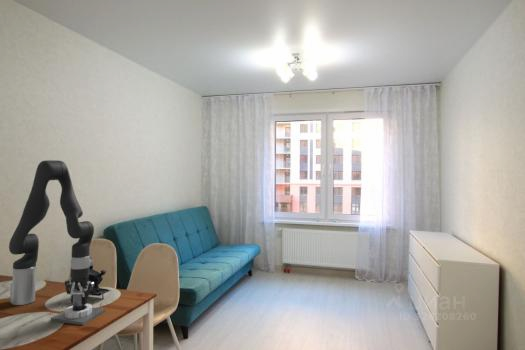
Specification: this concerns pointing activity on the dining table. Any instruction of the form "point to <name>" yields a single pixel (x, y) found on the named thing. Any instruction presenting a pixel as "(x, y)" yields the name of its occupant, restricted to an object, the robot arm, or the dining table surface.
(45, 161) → the robot arm
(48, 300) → the dining table surface
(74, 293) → the lens
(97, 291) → the vintage camera
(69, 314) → the mount
